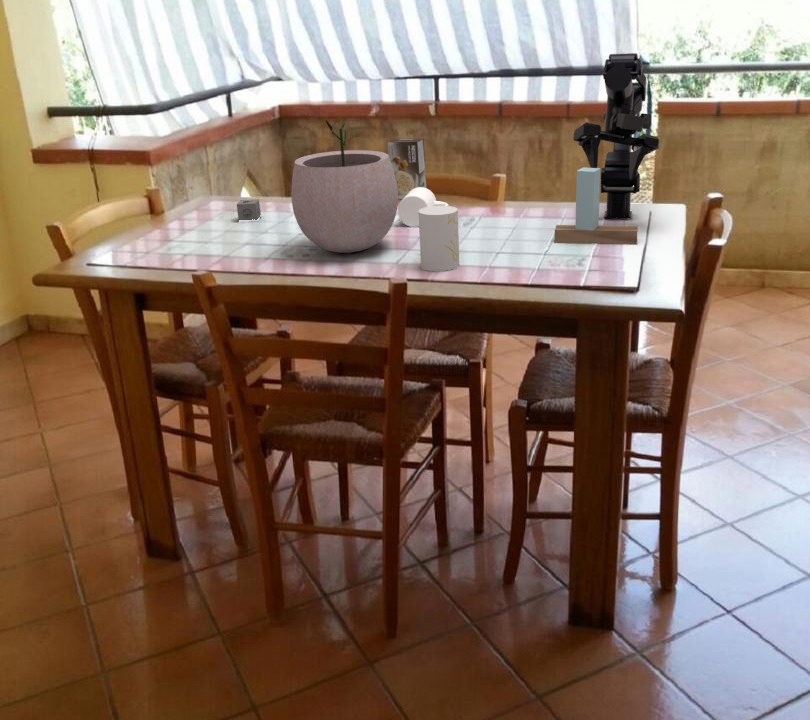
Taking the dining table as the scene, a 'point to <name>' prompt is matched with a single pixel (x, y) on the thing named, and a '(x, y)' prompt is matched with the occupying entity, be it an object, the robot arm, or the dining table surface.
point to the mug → (416, 205)
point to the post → (587, 198)
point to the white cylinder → (439, 238)
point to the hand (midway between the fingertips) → (613, 176)
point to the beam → (596, 234)
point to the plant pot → (344, 197)
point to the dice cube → (248, 209)
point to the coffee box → (407, 164)
